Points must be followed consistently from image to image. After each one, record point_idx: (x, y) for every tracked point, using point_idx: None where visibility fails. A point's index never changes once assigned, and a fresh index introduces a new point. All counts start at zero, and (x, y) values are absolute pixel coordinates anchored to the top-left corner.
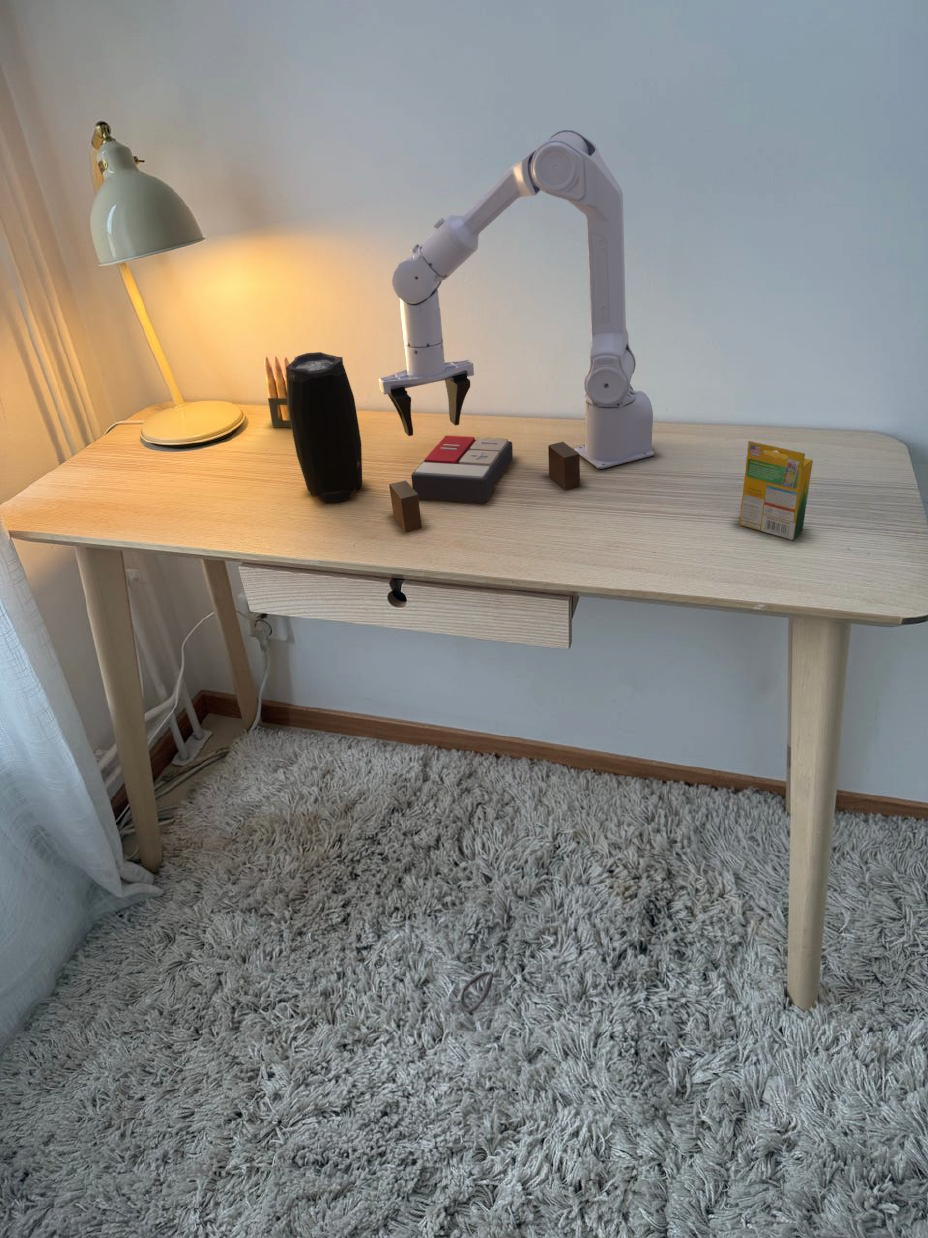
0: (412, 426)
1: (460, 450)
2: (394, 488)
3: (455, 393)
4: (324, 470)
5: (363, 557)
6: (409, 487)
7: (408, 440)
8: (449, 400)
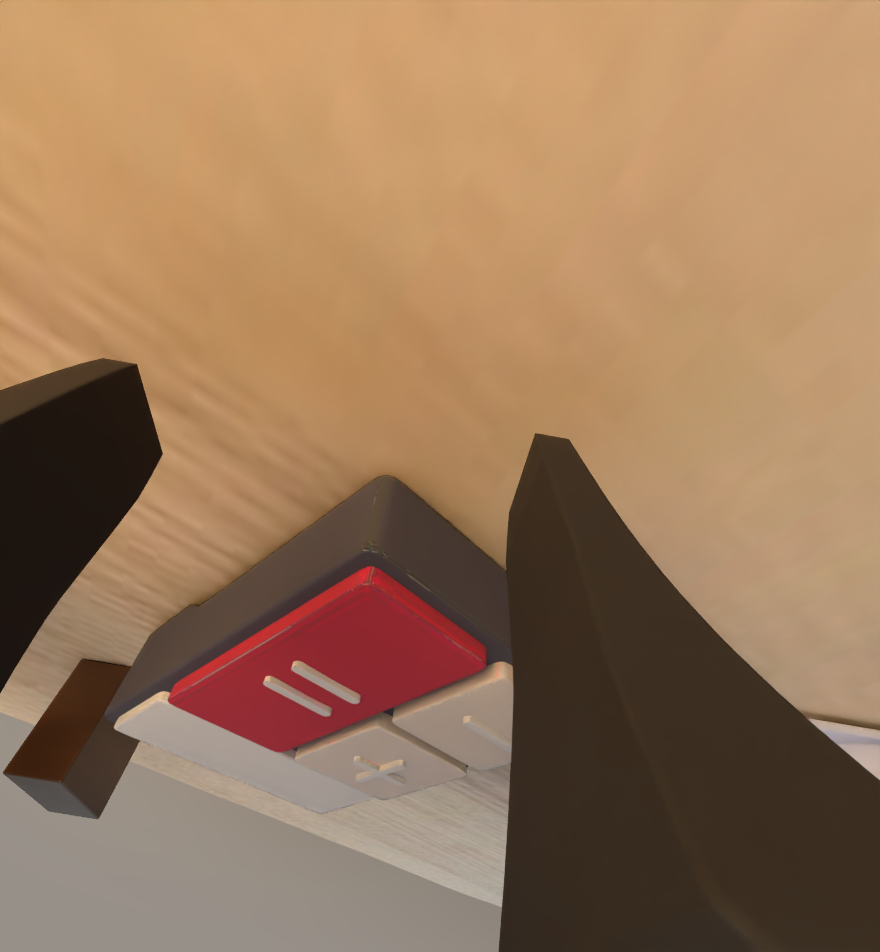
0: (118, 523)
1: (342, 717)
2: (23, 787)
3: (512, 848)
4: None
5: (10, 711)
6: (73, 800)
7: (253, 37)
8: (564, 586)
